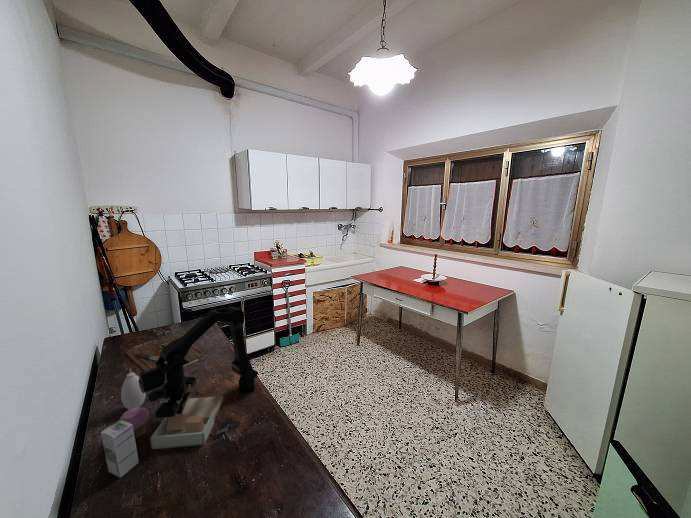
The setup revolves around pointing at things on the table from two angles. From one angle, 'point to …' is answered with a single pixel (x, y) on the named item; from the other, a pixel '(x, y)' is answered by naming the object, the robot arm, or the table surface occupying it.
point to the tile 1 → (176, 422)
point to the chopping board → (157, 353)
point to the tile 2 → (194, 424)
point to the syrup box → (119, 448)
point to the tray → (179, 436)
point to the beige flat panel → (203, 407)
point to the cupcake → (137, 420)
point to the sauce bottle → (132, 392)
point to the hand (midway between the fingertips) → (179, 415)
